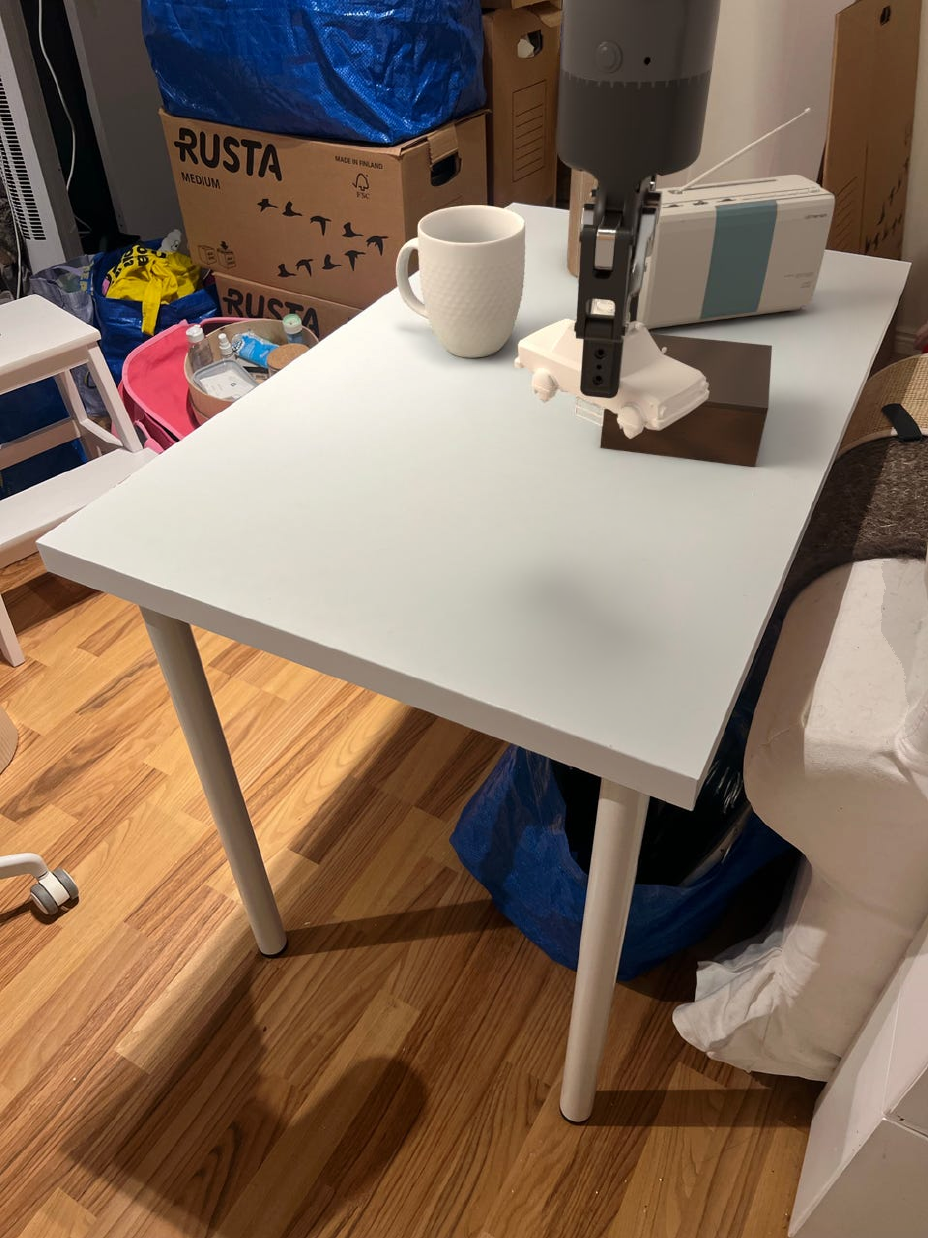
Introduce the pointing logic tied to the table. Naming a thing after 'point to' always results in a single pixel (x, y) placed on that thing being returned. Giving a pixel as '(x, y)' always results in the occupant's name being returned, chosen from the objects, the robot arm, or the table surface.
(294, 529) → the table surface
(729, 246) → the radio
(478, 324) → the mug
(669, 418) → the toy car
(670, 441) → the stand
